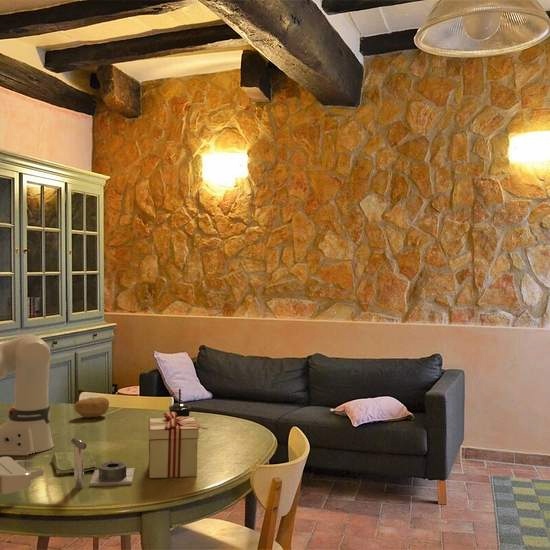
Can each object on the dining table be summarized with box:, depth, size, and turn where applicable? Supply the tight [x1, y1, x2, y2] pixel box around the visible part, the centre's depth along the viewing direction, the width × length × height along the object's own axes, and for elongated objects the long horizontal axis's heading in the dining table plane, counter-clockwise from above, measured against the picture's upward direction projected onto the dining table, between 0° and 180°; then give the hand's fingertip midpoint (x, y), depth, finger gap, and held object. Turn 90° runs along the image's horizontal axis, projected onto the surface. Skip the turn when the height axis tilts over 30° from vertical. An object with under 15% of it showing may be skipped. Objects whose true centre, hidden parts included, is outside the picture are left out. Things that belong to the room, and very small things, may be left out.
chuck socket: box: [89, 460, 136, 487], centre depth 197 cm, size 12×12×4 cm
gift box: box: [147, 411, 209, 479], centre depth 205 cm, size 17×18×17 cm
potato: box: [73, 396, 110, 419], centre depth 271 cm, size 10×14×8 cm
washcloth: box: [51, 450, 99, 476], centre depth 209 cm, size 13×18×3 cm
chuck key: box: [70, 437, 87, 490], centre depth 189 cm, size 7×3×14 cm, turn 38°
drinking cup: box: [168, 388, 192, 417], centre depth 231 cm, size 8×8×20 cm
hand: (37, 467), depth 182 cm, fingers open, 8 cm apart
